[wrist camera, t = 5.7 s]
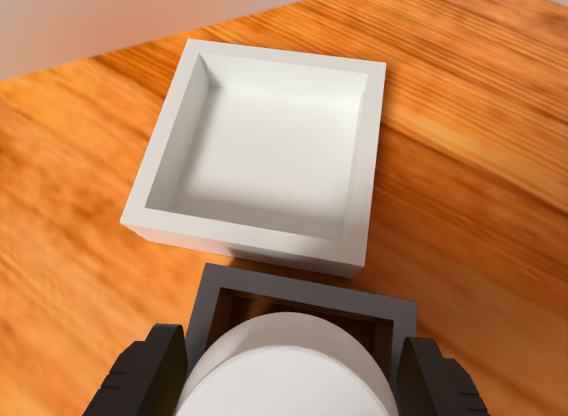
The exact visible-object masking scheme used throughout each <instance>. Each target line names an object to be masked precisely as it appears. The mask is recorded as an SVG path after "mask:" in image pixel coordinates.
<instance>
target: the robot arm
mask: <svg viewBox="0 0 568 416" xmlns="http://www.w3.org/2000/svg"><path fill="white" fill-rule="evenodd" d="M187 369H188V358H187V352H186V345H185V338H184V331H183V327H182V325H178V324H158V323H157V324H155V325H154V326H153V327H152V329H151V331H150V333H149V334H148V336H147V338H146V340H145V341H135V342H133V343H132V344H131V345H130V346H129V347H128V348H127V349H126V350H124V351H123V352H122V353H121V354H120V355H119V357H118V358H117V360H116V362H115V363H114V365H113V366H112V368H111V370H110V371H109V375H107V376H106V378H105V379H104V381H103V383H102V384H101V388H100V389H98V391H97V392H96V394H95V396H94V397H93V399H92V401H91V402H90V404H89V405H88V407H87V409H86V410H85V412H84V414H83V415H82V416H173V413H174V411H175V408H176V405H177V402H178V400H179V397H180V394H181V391H182V389H183V386H184V383H185V380H186V376H187ZM397 390H398V396H399V399H400V403H401V407H402V410H403V414H404V416H490V414H488V412H487V408H486V406H485V404H484V402H483V400H482V398H480V397H479V392H478V390H477V388H476V386H475V385H474V383H473V381H472V379H471V377H470V375H469V374H468V373H467V372H466V371H465V370H464V369H463V368H462V367H461V366H460V364H459V363H458V362H457V361H456V360H455V359H449V358H443V356H442V354H441V352H440V350H439V348H438V345H437V343H436V341H435V340H434V339H433V338H419V337H406V338H405V339H404V342H403V347H402V352H401V357H400V361H399V366H398V371H397Z"/></svg>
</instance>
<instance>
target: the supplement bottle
mask: <svg viewBox="0 0 568 416" xmlns="http://www.w3.org/2000/svg"><path fill="white" fill-rule="evenodd" d="M175 416H399V413H398V409H397V405H396V402H395V399H394V396H393V394H392V391H391V389H390V386H389V384H388V382H387V380H386V378H385V376H384V374H383V373H382V371H381V369H380V368H379V366H378V365H377V363H376V362H375V360H374V359H373V358H372V356H371V355H370V354H369V353H368V352H367V350H366V349H365V348H364V347H363V346H362V345H361V344H360V343H359V342H358V341H357V340H356V339H355V338H353V337H352V336H351V335H350V334H348V333H347V332H346V331H344V330H343V329H341V328H339V327H338V326H336V325H334V324H332V323H330V322H328V321H326V320H324V319H321V318H318V317H316V316H312V315H308V314H302V313H295V312H279V313H271V314H266V315H262V316H258V317H255V318H252V319H250V320H248V321H245V322H243V323H241V324H239V325H238V326H236V327H234V328H233V329H231V330H229V331H228V332H227V333H225V334H224V335H222V336H221V337H220V338H219V339H218V340H217V341H216V342H215V343H214V344H213V345H212V346H211V347H210V348H209V349H208V350H207V351H206V352H205V353H204V354H203V356H202V357H201V358H200V360H199V361H198V363H197V364H196V366H195V367H194V369H193V371H192V372H191V374H190V376H189V378H188V379H187V381H186V384H185V386H184V388H183V391H182V393H181V396H180V399H179V402H178V405H177V409H176V413H175Z"/></svg>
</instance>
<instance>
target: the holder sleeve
mask: <svg viewBox="0 0 568 416" xmlns="http://www.w3.org/2000/svg"><path fill="white" fill-rule="evenodd" d="M234 295H235V296H240V297H245V298H250V299H255V300H260V301H265V302H271V303H276V304H281V305H286V306H291V307H296V308H301V309H307V310H312V311H317V312H322V313H327V314H332V315H337V316H343V317H348V318H353V319H358V320H363V321H368V322H373V323H376V324H375V335H374V346H373V357H372V358H373V359H374V360H375V362H376V363H377V365H378V366H379V368H380V369H381V371H382V373H383V374H384V376H385V378H386V380H387V382H388V384H389V386H390V389H391V391H392V394H393V396H394V399H395V402H396V405H397V409H398V413H399V416H404V414H403V410H402V407H401V403H400V399H399V396H398V390H397V371H398V366H399V361H400V357H401V352H402V347H403V342H404V339H405V338H406V337H416V326H417V307H418V302H415V301H410V300H404V299H399V298H394V297H388V296H383V295H378V294H372V293H367V292H362V291H356V290H351V289H346V288H340V287H335V286H329V285H324V284H319V283H313V282H308V281H303V280H297V279H292V278H287V277H281V276H276V275H270V274H265V273H260V272H254V271H249V270H244V269H238V268H233V267H228V266H222V265H217V264H211V263H205V267H204V271H203V274H202V278H201V282H200V285H199V289H198V293H197V296H196V300H195V304H194V307H193V311H192V315H191V319H190V322H189V326H188V330H187V333H186V337H185V345H186V352H187V358H188V369H187V376H186V380H185V383H184V386H185V384H186V381H187V379H188V378H189V376H190V374H191V372H192V371H193V369H194V367H195V366H196V364H197V363H198V361H199V360H200V358H201V357H202V356H203V354H204V353H205V352H206V351H207V350H208V349H209V348H210V347H211V346H212V345H213V344H214V343H215V342H216V341H217V340H218V339H219V338H220V337H221V336H222V335H224V334H225V331H226V327H227V323H228V318H229V314H230V310H231V305H232V301H233V297H234ZM184 386H183V388H184ZM182 391H183V389H182ZM182 391H181V393H182ZM180 396H181V394H180ZM179 399H180V397H179ZM178 402H179V400H178ZM178 402H177V405H178ZM177 405H176V408H175V411H174V413H173V416H175V413H176V409H177Z"/></svg>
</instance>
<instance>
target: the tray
mask: <svg viewBox="0 0 568 416" xmlns="http://www.w3.org/2000/svg"><path fill="white" fill-rule="evenodd" d="M385 72H386V63H384V62H375V61H367V60H359V59H351V58H343V57H334V56H326V55H318V54H310V53H302V52H293V51H285V50H277V49H269V48H261V47H253V46H244V45H236V44H228V43H220V42H212V41H203V40H195V39H188V40H187V43H186V46H185V48H184V51H183V54H182V56H181V59H180V62H179V64H178V67H177V70H176V72H175V75H174V78H173V80H172V83H171V86H170V88H169V91H168V94H167V96H166V99H165V102H164V104H163V107H162V110H161V112H160V115H159V118H158V121H157V123H156V126H155V129H154V131H153V134H152V137H151V139H150V142H149V145H148V147H147V150H146V153H145V155H144V158H143V161H142V163H141V166H140V169H139V171H138V174H137V177H136V179H135V182H134V185H133V187H132V190H131V193H130V195H129V198H128V201H127V203H126V206H125V209H124V211H123V214H122V217H121V219H120V222H119V223H121V224H122V225H124V226H126V227H127V228H129V229H130V230H132V231H133V232H135V233H137V234H138V235H140V236H141V237H143V238H144V239H146V240H148V241H150V242H155V243H161V244H166V245H172V246H177V247H183V248H188V249H193V250H199V251H204V252H210V253H215V254H221V255H226V256H232V257H237V258H242V259H248V260H253V261H259V262H264V263H270V264H275V265H281V266H286V267H292V268H297V269H302V270H308V271H313V272H319V273H324V274H330V275H335V276H341V277H346V278H353V277H354V276H355V275H356V274H357V273H358V272H359V271H360V270H361V269H362V268H363V267H364V265H365V256H366V247H367V238H368V228H369V219H370V210H371V201H372V192H373V182H374V173H375V164H376V155H377V145H378V136H379V127H380V118H381V109H382V99H383V90H384V81H385Z"/></svg>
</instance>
